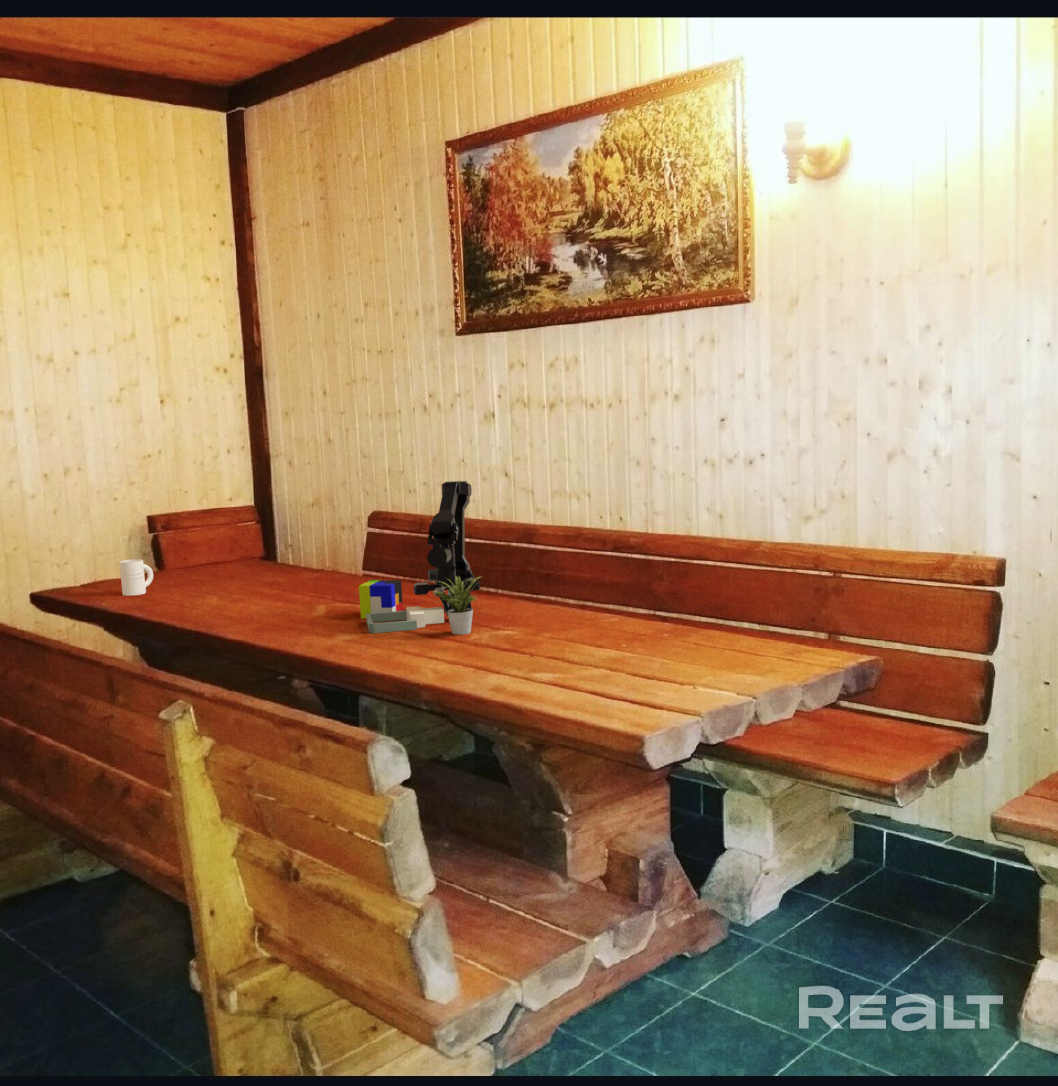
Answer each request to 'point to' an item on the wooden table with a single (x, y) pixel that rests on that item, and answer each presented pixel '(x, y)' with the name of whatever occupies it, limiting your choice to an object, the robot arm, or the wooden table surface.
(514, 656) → the wooden table surface
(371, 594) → the puzzle toy
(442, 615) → the t block
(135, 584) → the mug
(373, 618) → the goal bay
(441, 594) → the house plant
